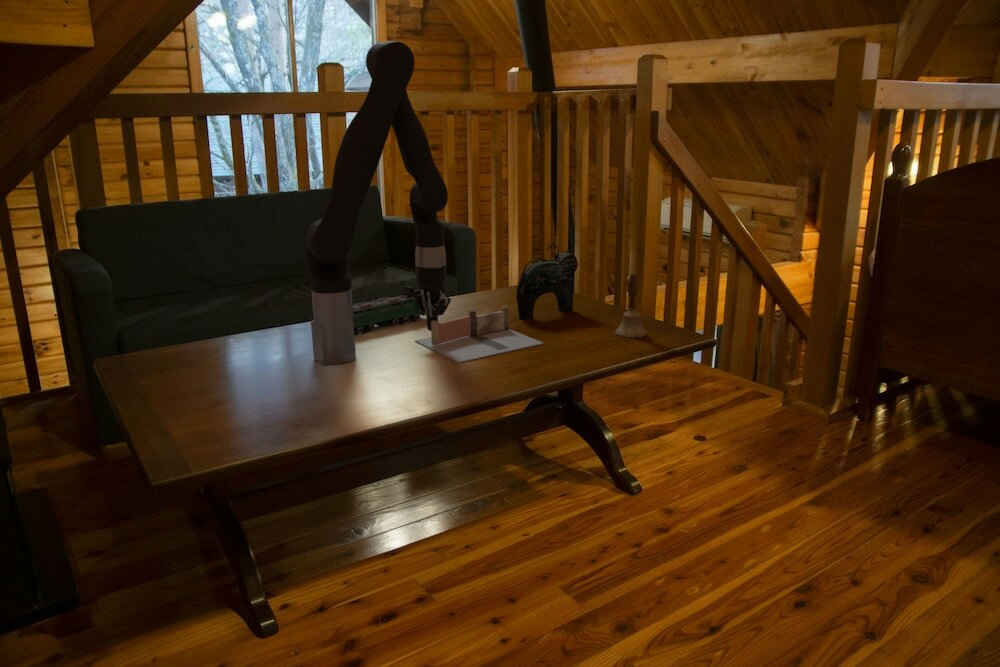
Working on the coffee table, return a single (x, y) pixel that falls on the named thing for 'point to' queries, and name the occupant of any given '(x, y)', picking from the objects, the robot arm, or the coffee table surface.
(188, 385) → the coffee table surface
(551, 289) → the black animal figurine
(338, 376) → the coffee table surface
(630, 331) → the hand bell
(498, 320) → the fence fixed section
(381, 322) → the toy train
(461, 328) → the panel
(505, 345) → the card
